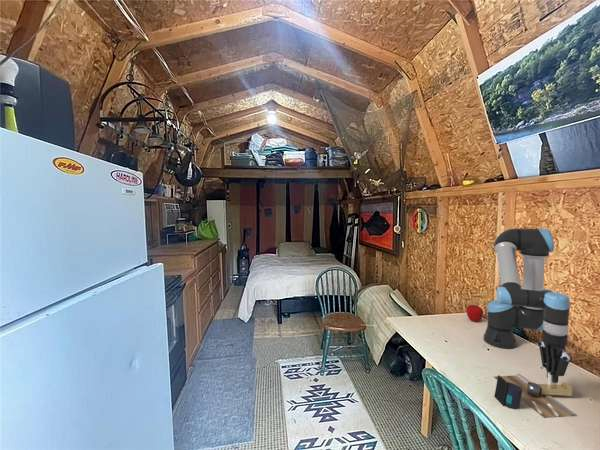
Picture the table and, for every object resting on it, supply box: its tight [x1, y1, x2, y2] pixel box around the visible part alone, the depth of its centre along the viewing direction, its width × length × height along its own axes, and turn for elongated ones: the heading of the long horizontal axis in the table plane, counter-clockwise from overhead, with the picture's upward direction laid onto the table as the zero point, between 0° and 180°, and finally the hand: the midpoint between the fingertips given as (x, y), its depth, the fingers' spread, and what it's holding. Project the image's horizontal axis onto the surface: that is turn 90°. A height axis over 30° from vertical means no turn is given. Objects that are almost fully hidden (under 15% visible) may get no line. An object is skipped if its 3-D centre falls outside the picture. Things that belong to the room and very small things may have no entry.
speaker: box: [493, 374, 522, 410], centre depth 109 cm, size 8×6×10 cm
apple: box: [465, 304, 484, 323], centre depth 190 cm, size 10×10×11 cm
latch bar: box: [527, 381, 573, 397], centre depth 114 cm, size 15×4×4 cm, turn 84°
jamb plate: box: [493, 373, 577, 419], centre depth 115 cm, size 12×25×2 cm, turn 3°
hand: (551, 388), depth 115 cm, fingers closed
